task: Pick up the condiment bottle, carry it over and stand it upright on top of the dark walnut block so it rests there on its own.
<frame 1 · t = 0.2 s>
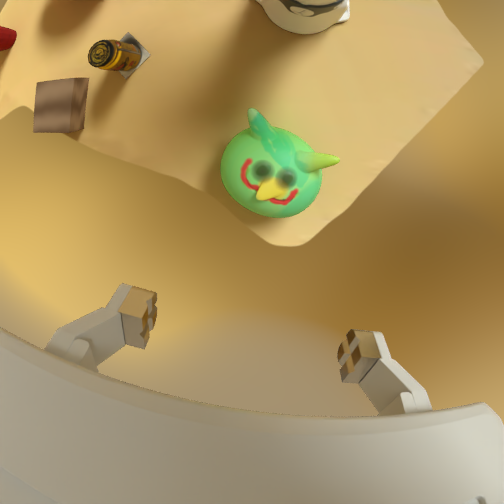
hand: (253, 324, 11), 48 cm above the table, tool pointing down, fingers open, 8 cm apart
walnut block: (67, 103, 47), on the table
plastic cup: (11, 40, 35), on the table
condiment: (127, 55, 43), on the table
toy bird: (272, 160, 54), on the table
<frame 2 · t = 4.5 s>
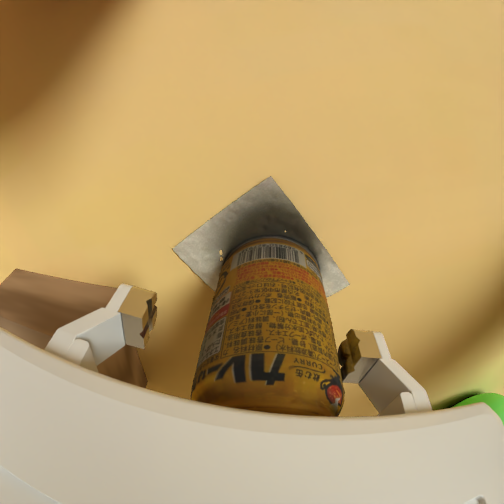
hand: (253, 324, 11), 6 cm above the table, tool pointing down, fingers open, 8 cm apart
walnut block: (80, 328, 22), on the table
condiment: (263, 264, 17), on the table
toy bird: (462, 403, 28), on the table
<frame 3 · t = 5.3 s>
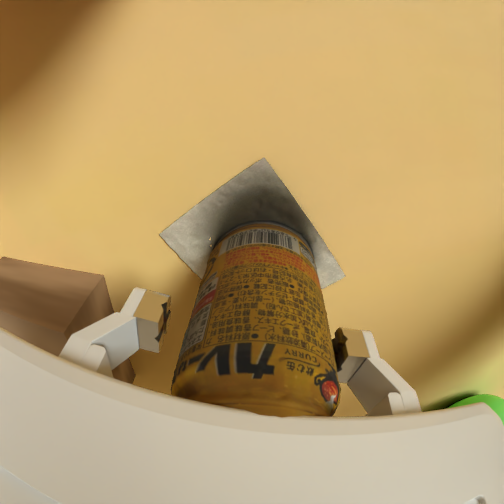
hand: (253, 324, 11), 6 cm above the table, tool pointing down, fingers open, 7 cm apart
walnut block: (66, 318, 21), on the table
condiment: (255, 252, 16), on the table, touching gripper
toy bird: (457, 404, 28), on the table
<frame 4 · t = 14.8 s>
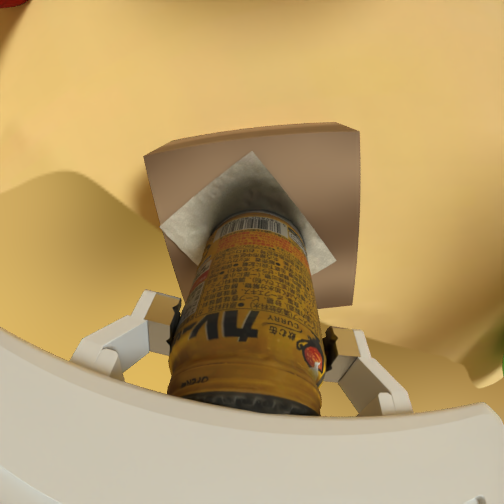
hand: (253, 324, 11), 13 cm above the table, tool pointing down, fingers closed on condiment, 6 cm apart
walnut block: (262, 202, 22), on the table, touching condiment
condiment: (249, 240, 17), point 5 cm above the table, touching gripper, walnut block
when the fingers open (13 cm above the table, at t = 15.6 s): condiment stays where it is, resting on walnut block.
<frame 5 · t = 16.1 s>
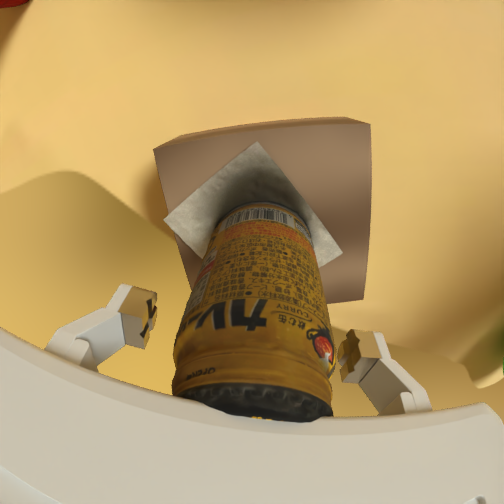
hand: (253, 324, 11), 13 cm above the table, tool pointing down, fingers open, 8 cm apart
walnut block: (271, 197, 22), on the table, touching condiment
condiment: (254, 232, 17), point 5 cm above the table, touching walnut block
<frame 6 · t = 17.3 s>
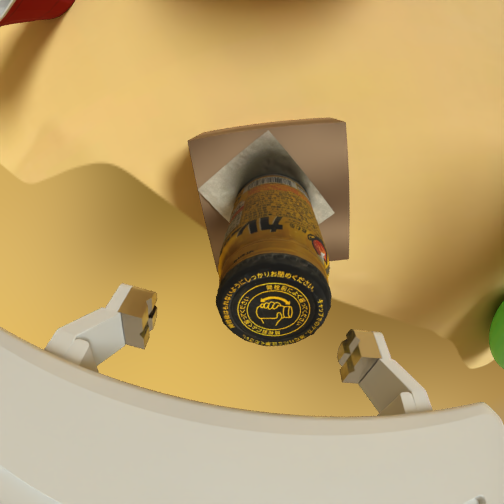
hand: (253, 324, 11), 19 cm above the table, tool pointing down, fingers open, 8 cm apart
walnut block: (274, 181, 28), on the table, touching condiment
plastic cup: (62, 0, 16), on the table
condiment: (267, 198, 22), point 5 cm above the table, touching walnut block
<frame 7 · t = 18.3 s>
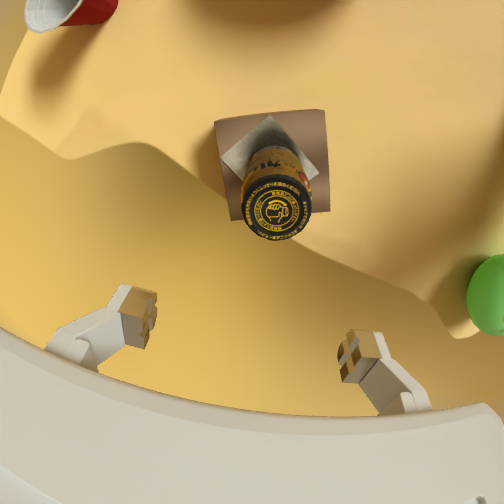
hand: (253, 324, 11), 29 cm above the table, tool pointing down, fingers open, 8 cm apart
walnut block: (274, 156, 36), on the table, touching condiment
plastic cup: (102, 9, 24), on the table
condiment: (270, 163, 31), point 5 cm above the table, touching walnut block
toy bird: (486, 273, 43), on the table
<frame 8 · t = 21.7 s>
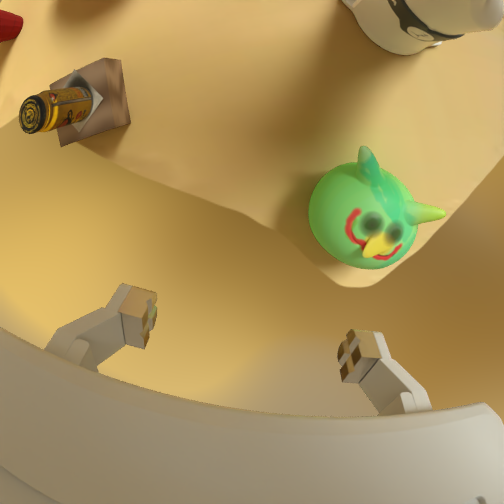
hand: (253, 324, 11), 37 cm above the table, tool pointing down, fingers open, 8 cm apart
walnut block: (98, 101, 39), on the table
plastic cup: (16, 28, 27), on the table
condiment: (77, 100, 34), point 5 cm above the table
toy bird: (354, 197, 46), on the table
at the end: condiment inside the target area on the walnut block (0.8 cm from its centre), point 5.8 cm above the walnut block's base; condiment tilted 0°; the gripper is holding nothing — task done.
